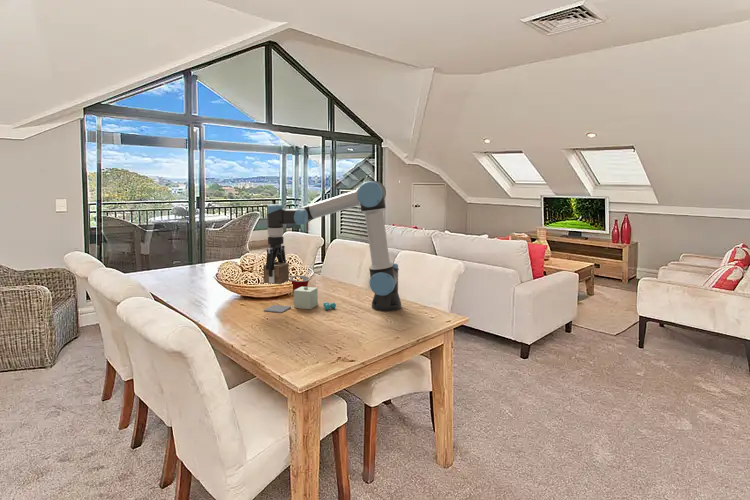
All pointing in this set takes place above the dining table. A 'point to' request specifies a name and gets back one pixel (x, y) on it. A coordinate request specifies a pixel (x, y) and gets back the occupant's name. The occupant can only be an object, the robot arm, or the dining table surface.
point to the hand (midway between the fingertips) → (276, 280)
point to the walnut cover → (278, 273)
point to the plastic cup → (299, 282)
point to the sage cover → (305, 297)
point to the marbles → (327, 306)
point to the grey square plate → (277, 308)
